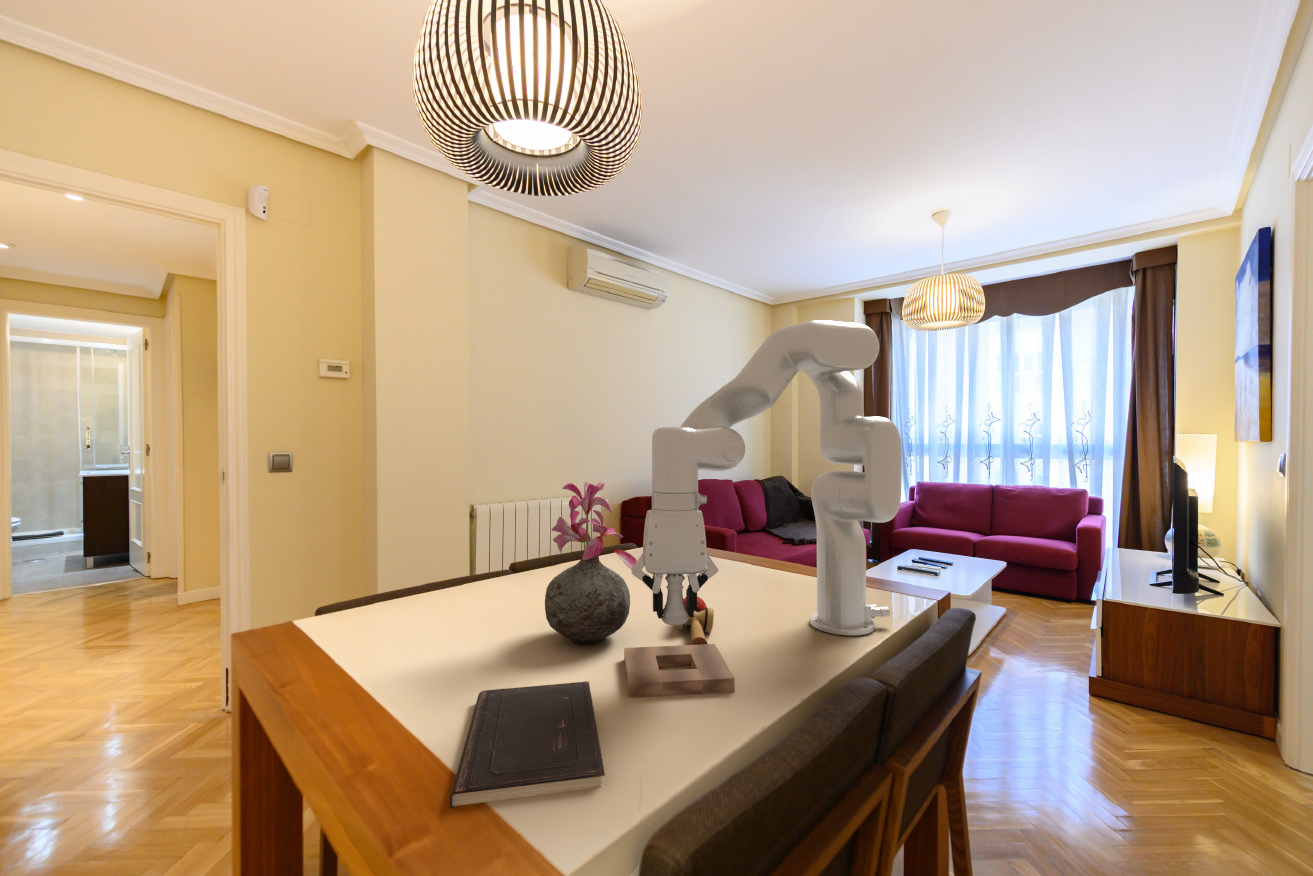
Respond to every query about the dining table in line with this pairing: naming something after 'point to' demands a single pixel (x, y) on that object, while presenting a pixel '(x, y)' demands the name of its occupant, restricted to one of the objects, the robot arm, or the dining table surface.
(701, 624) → the kendama
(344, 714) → the dining table surface
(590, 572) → the vase
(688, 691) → the board
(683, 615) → the rook chess piece
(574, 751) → the hardcover book
